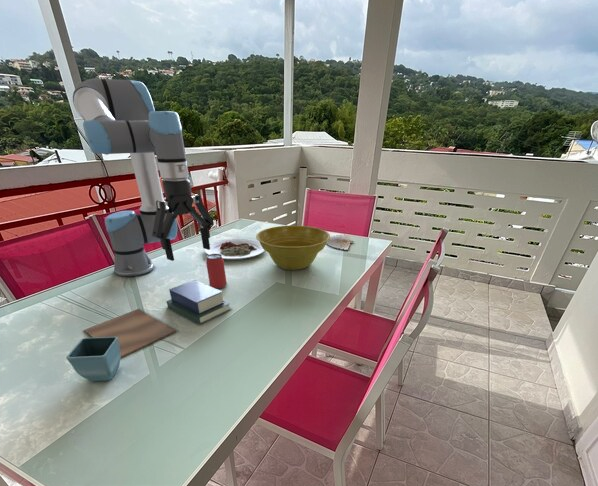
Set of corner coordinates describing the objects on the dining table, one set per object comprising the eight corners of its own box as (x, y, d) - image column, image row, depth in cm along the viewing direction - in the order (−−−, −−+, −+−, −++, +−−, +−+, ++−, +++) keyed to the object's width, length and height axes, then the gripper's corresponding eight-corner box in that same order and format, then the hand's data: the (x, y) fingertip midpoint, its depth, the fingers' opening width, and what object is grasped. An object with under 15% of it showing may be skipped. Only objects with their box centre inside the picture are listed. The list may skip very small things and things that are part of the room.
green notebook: (167, 307, 116) (166, 301, 114) (198, 295, 124) (197, 289, 123) (199, 324, 107) (198, 317, 105) (230, 309, 115) (229, 303, 113)
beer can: (223, 289, 128) (219, 259, 121) (207, 288, 129) (202, 258, 122) (229, 283, 133) (225, 253, 126) (214, 281, 134) (209, 252, 127)
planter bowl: (244, 271, 143) (242, 240, 136) (276, 249, 168) (275, 221, 160) (314, 283, 134) (315, 251, 126) (337, 258, 158) (339, 229, 150)
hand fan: (352, 235, 189) (325, 234, 189) (352, 234, 188) (325, 233, 189) (355, 250, 167) (325, 249, 168) (355, 249, 167) (325, 248, 167)
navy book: (171, 301, 114) (169, 289, 112) (196, 291, 121) (194, 279, 118) (198, 314, 107) (196, 302, 104) (223, 303, 113) (222, 291, 111)
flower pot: (94, 365, 89) (82, 337, 83) (128, 363, 89) (118, 336, 84) (79, 387, 81) (64, 357, 76) (116, 385, 82) (104, 356, 77)
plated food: (249, 266, 149) (248, 258, 147) (192, 257, 157) (191, 250, 155) (275, 246, 172) (275, 239, 170) (225, 239, 180) (224, 233, 178)
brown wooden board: (84, 331, 102) (83, 329, 102) (138, 310, 114) (138, 308, 114) (119, 358, 91) (119, 356, 91) (176, 331, 103) (175, 330, 102)
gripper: (141, 185, 82) (161, 267, 94) (219, 175, 98) (227, 246, 110) (125, 182, 86) (146, 261, 98) (203, 173, 102) (213, 242, 114)
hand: (189, 254), depth 104 cm, fingers open, 13 cm apart
